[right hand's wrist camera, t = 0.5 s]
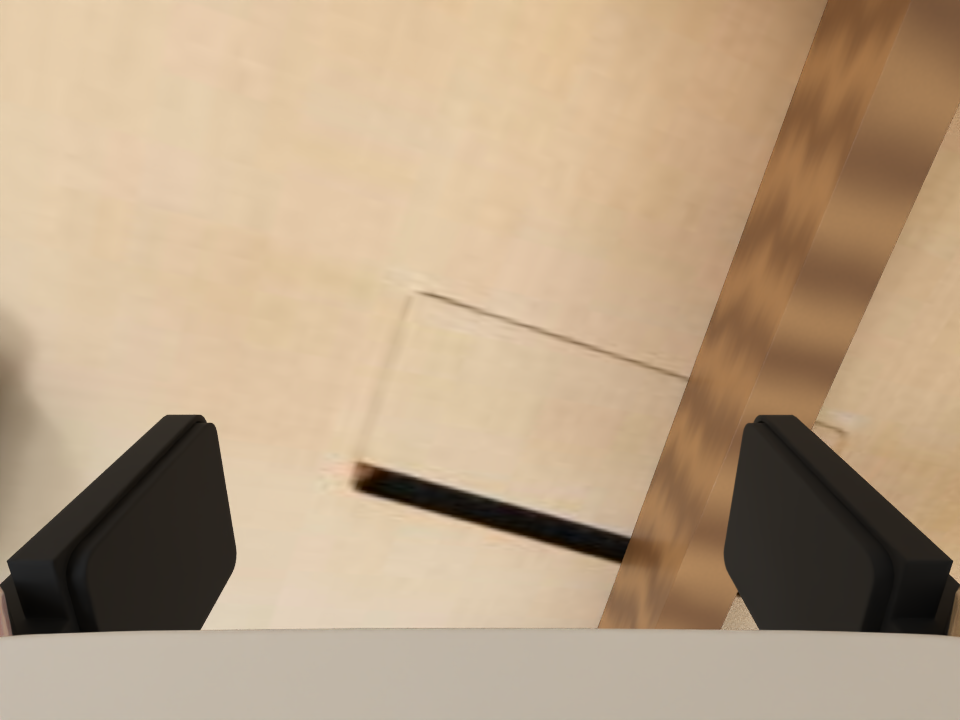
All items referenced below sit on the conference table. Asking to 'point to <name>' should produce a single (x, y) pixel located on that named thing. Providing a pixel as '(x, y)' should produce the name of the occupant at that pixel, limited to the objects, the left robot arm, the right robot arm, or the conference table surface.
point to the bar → (794, 285)
